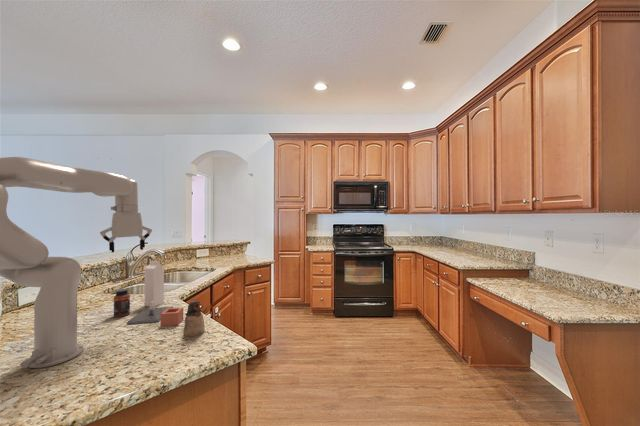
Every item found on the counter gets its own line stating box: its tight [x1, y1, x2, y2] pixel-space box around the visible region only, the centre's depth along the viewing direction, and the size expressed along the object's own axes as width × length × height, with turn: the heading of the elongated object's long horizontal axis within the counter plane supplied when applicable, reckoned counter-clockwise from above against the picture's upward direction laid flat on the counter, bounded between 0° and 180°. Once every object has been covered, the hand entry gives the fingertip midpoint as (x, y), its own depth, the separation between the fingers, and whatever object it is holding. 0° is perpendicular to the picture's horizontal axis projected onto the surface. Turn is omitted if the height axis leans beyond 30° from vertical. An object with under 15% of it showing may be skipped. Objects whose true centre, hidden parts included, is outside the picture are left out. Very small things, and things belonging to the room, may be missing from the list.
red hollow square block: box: [160, 306, 184, 327], centre depth 108 cm, size 6×6×5 cm
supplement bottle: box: [113, 288, 131, 318], centre depth 117 cm, size 6×6×11 cm
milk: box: [144, 260, 165, 307], centre depth 132 cm, size 6×6×22 cm
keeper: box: [126, 302, 174, 325], centre depth 116 cm, size 16×12×6 cm
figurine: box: [183, 300, 206, 338], centre depth 98 cm, size 7×7×12 cm
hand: (127, 250), depth 107 cm, fingers open, 9 cm apart
